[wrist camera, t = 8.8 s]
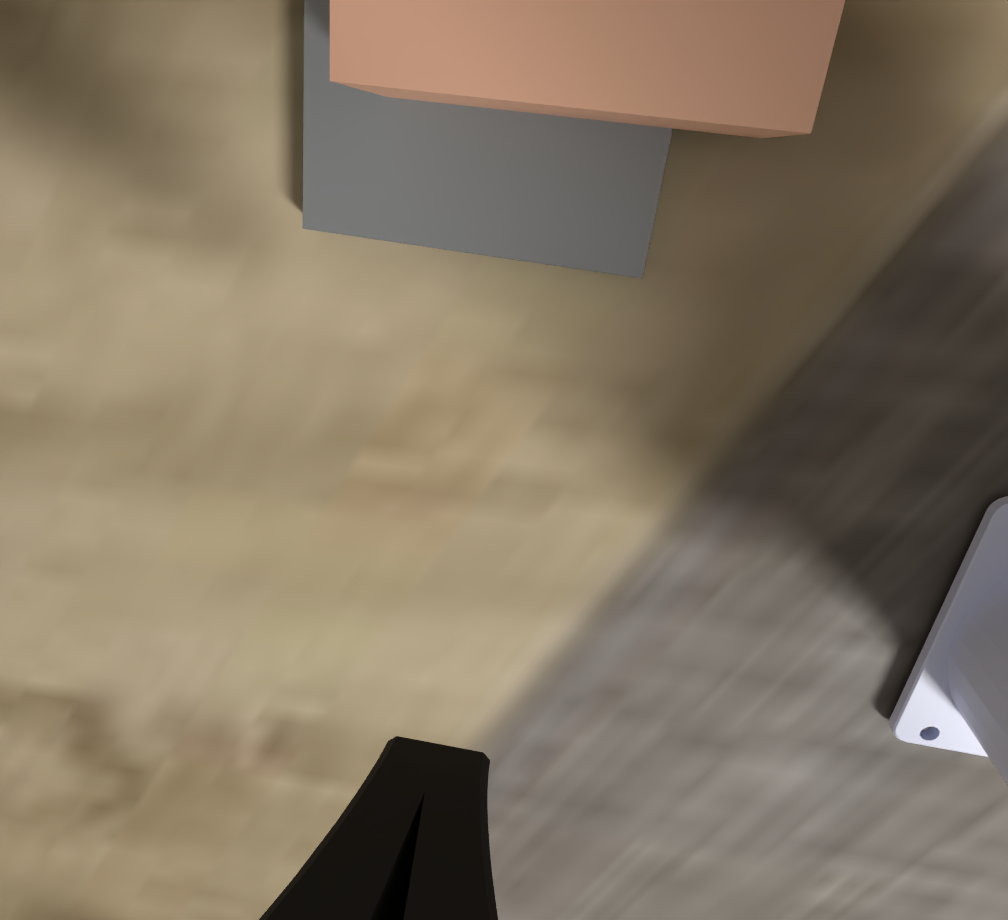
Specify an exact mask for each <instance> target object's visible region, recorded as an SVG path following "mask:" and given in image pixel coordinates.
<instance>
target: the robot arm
mask: <svg viewBox="0 0 1008 920" xmlns="http://www.w3.org/2000/svg"><path fill="white" fill-rule="evenodd" d="M889 725H890V727H891V730H892V731H893V733H894V735H895V737H897V738H898V739H899V740H901V741H904V742H909V743H914V744H920V745H925V746H931V747H936V748H942V749H947V750H953V751H959V752H964V753H970V754H975V755H981V756H986V757H989V758H990V760H991V761H992V763H993V765H994V766H995V768H996V769H997V771H998V772H999V774H1000V775H1001V777H1002V778H1003V780H1004V781H1005V783H1006V784H1007V786H1008V496H1006V497H1003V498H999V499H997V500H996V501H994V502H993V503H992V504H991V505H990V506H989V507H988V509H987V510H986V512H985V514H984V517H983V519H982V521H981V523H980V525H979V527H978V530H977V532H976V534H975V536H974V538H973V540H972V542H971V545H970V547H969V549H968V551H967V553H966V555H965V558H964V560H963V562H962V564H961V566H960V568H959V571H958V573H957V575H956V577H955V579H954V581H953V583H952V586H951V588H950V590H949V592H948V594H947V596H946V599H945V601H944V603H943V605H942V607H941V609H940V612H939V614H938V616H937V618H936V620H935V622H934V625H933V627H932V629H931V631H930V633H929V635H928V637H927V640H926V642H925V644H924V646H923V648H922V650H921V653H920V655H919V657H918V659H917V661H916V663H915V666H914V668H913V670H912V672H911V674H910V676H909V678H908V681H907V683H906V685H905V687H904V689H903V691H902V694H901V696H900V698H899V700H898V702H897V704H896V707H895V709H894V711H893V713H892V715H891V717H890V721H889ZM926 727H931V728H930V729H927V730H922V729H924V728H926ZM489 764H490V760H489V759H488V758H487V756H486V755H485V754H484V753H483V752H478V751H472V750H467V749H462V748H456V747H451V746H446V745H440V744H435V743H430V742H425V741H419V740H414V739H409V738H403V737H398V736H397V737H395V738H393V739H391V740H389V741H388V743H387V744H386V746H385V748H384V750H383V752H382V753H381V755H380V757H379V759H378V760H377V762H376V764H375V765H374V767H373V768H372V770H371V772H370V773H369V775H368V776H367V778H366V780H365V781H364V783H363V784H362V786H361V787H360V789H359V790H358V792H357V793H356V795H355V796H354V798H353V799H352V800H351V802H350V803H349V805H348V806H347V808H346V809H345V810H344V812H343V813H342V815H341V816H340V818H339V819H338V820H337V822H336V823H335V825H334V826H333V827H332V829H331V830H330V831H329V832H328V834H327V835H326V836H325V838H324V839H323V840H322V842H321V843H320V844H319V846H318V847H317V848H316V850H315V851H314V852H313V854H312V855H311V856H310V858H309V859H308V860H307V862H306V863H305V864H304V866H303V867H302V868H301V869H300V871H299V872H298V873H297V875H296V876H295V877H294V878H293V880H292V881H291V882H290V883H289V885H288V886H287V887H286V888H285V889H284V890H283V892H282V893H281V894H280V895H279V896H278V898H277V899H276V900H275V901H274V902H273V904H272V905H271V906H270V907H269V908H268V910H267V911H266V912H265V913H264V914H263V915H262V917H261V918H260V919H259V920H498V916H497V909H496V901H495V894H494V886H493V879H492V870H491V860H490V849H489V833H488V813H487V788H488V772H489Z"/></svg>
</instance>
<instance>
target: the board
mask: <svg viewBox="0 0 1008 920" xmlns="http://www.w3.org/2000/svg"><path fill="white" fill-rule="evenodd" d="M672 131H673V128H664V127H655V126H646V125H637V124H628V123H619V122H609V121H600V120H591V119H582V118H573V117H564V116H555V115H546V114H537V113H528V112H519V111H510V110H501V109H491V108H482V107H473V106H464V105H455V104H446V103H437V102H428V101H419V100H410V99H401V98H392V97H385V96H382V95H378V94H375V93H371V92H367V91H364V90H360V89H357V88H353V87H349V86H346V85H342V84H339V83H335V82H331V81H330V0H304V98H303V229H309V230H316V231H322V232H329V233H336V234H343V235H350V236H357V237H363V238H370V239H377V240H384V241H391V242H397V243H404V244H411V245H418V246H425V247H432V248H438V249H445V250H452V251H459V252H466V253H472V254H479V255H486V256H493V257H500V258H506V259H513V260H520V261H527V262H534V263H541V264H547V265H554V266H561V267H568V268H575V269H581V270H588V271H595V272H602V273H609V274H616V275H622V276H629V277H636V278H643V274H644V269H645V264H646V259H647V254H648V249H649V244H650V239H651V234H652V229H653V224H654V220H655V215H656V210H657V205H658V200H659V195H660V190H661V185H662V180H663V175H664V170H665V165H666V160H667V155H668V150H669V146H670V141H671V136H672Z"/></svg>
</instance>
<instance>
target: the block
mask: <svg viewBox="0 0 1008 920" xmlns="http://www.w3.org/2000/svg"><path fill="white" fill-rule="evenodd" d="M844 4H845V0H330V81H331V82H335V83H339V84H342V85H346V86H349V87H353V88H357V89H360V90H364V91H367V92H371V93H375V94H378V95H382V96H385V97H392V98H401V99H410V100H419V101H428V102H437V103H446V104H455V105H464V106H473V107H482V108H491V109H501V110H510V111H519V112H528V113H537V114H546V115H555V116H564V117H573V118H582V119H591V120H600V121H609V122H619V123H628V124H637V125H646V126H655V127H664V128H673V129H682V130H691V131H700V132H709V133H718V134H727V135H737V136H746V137H755V138H772V137H782V136H792V135H802V134H811V132H812V128H813V124H814V121H815V117H816V113H817V109H818V105H819V101H820V97H821V93H822V89H823V86H824V82H825V78H826V74H827V70H828V66H829V62H830V58H831V54H832V50H833V47H834V43H835V39H836V35H837V31H838V27H839V23H840V19H841V15H842V11H843V8H844Z"/></svg>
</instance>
